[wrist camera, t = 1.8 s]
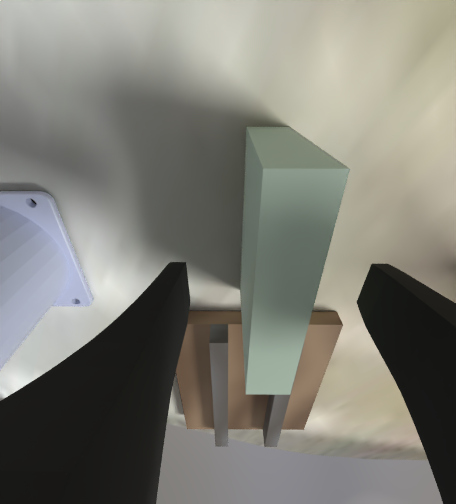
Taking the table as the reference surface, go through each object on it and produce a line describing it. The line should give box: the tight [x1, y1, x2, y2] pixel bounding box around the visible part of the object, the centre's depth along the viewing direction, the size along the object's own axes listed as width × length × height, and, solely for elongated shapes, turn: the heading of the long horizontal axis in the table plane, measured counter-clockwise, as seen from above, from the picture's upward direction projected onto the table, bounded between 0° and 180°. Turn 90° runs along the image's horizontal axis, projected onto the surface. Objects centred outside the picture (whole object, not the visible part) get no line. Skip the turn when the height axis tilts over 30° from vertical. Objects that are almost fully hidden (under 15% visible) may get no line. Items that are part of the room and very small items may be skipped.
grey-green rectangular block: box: [240, 127, 350, 395], centre depth 12 cm, size 2×10×7 cm, turn 0°
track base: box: [176, 311, 343, 447], centre depth 22 cm, size 12×16×3 cm
